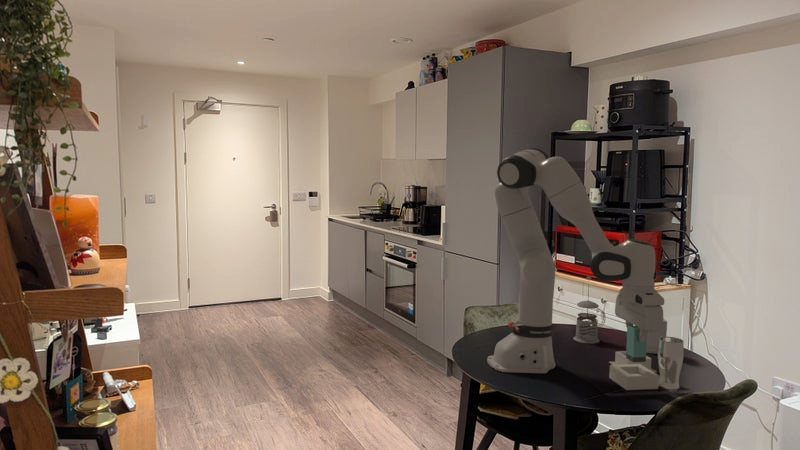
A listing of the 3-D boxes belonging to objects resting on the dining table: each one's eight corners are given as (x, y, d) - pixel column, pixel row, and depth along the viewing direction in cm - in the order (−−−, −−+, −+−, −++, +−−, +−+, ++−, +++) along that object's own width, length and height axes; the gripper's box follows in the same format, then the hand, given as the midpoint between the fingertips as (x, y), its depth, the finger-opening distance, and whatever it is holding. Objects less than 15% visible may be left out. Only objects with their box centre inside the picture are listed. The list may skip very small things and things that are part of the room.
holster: (625, 375, 178) (626, 361, 177) (608, 364, 188) (609, 350, 188) (657, 374, 179) (658, 360, 179) (638, 363, 190) (639, 349, 190)
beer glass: (673, 383, 171) (676, 336, 170) (686, 392, 164) (689, 343, 163) (651, 383, 171) (654, 336, 170) (662, 392, 164) (665, 343, 163)
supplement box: (665, 356, 198) (667, 321, 196) (643, 354, 199) (645, 320, 198) (660, 350, 205) (662, 316, 204) (639, 348, 206) (640, 315, 205)
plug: (633, 362, 166) (634, 329, 165) (626, 358, 170) (627, 325, 169) (645, 361, 166) (647, 328, 165) (638, 357, 170) (639, 325, 169)
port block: (626, 393, 163) (627, 376, 163) (609, 380, 173) (609, 365, 173) (658, 391, 165) (658, 375, 164) (639, 379, 174) (639, 363, 174)
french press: (570, 335, 222) (572, 273, 219) (599, 336, 221) (602, 274, 219) (576, 343, 212) (579, 278, 210) (607, 343, 211) (611, 278, 209)
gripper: (610, 287, 176) (609, 329, 177) (647, 301, 156) (645, 349, 157) (629, 286, 177) (627, 329, 178) (668, 300, 157) (666, 348, 158)
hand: (636, 338), depth 167 cm, fingers closed on plug, 4 cm apart
